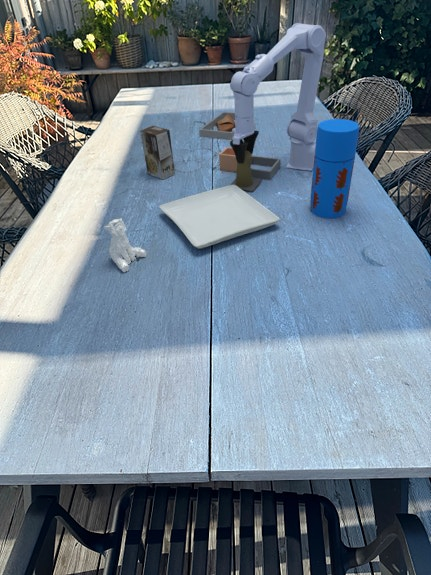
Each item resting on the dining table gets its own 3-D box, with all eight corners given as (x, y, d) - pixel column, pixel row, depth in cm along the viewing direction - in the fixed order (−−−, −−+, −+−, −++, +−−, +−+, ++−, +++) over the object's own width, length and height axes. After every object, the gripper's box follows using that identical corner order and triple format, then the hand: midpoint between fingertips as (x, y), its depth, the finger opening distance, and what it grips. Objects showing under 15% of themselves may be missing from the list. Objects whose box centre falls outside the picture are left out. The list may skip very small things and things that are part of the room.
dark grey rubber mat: (262, 181, 142) (262, 179, 142) (252, 192, 136) (252, 190, 135) (238, 177, 145) (238, 176, 145) (228, 188, 139) (228, 187, 139)
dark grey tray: (253, 120, 192) (253, 114, 190) (232, 139, 174) (231, 132, 172) (223, 118, 197) (222, 111, 195) (199, 136, 180) (198, 129, 178)
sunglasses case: (214, 122, 193) (220, 109, 189) (227, 129, 195) (233, 115, 192) (218, 134, 179) (225, 120, 175) (232, 141, 181) (239, 127, 178)
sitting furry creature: (125, 274, 105) (115, 234, 97) (101, 265, 109) (89, 226, 101) (148, 255, 111) (140, 216, 103) (124, 247, 115) (115, 209, 107)
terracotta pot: (244, 164, 153) (244, 149, 150) (237, 172, 149) (236, 156, 145) (227, 162, 156) (226, 147, 152) (219, 170, 151) (218, 154, 147)
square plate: (196, 258, 109) (195, 246, 107) (159, 215, 128) (157, 204, 126) (281, 228, 118) (281, 217, 116) (234, 192, 137) (233, 182, 135)
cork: (251, 187, 137) (250, 155, 130) (233, 186, 139) (232, 154, 132) (254, 179, 142) (254, 148, 135) (237, 178, 143) (236, 147, 136)
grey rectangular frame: (280, 166, 150) (280, 158, 148) (270, 179, 142) (270, 171, 140) (250, 163, 154) (250, 155, 152) (239, 175, 146) (239, 167, 144)
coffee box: (176, 174, 151) (170, 129, 141) (162, 180, 147) (156, 135, 137) (159, 168, 156) (153, 124, 146) (146, 174, 152) (139, 130, 142)
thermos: (347, 203, 126) (361, 119, 111) (344, 220, 119) (358, 133, 103) (312, 199, 130) (320, 117, 114) (306, 216, 122) (314, 131, 106)
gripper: (241, 107, 132) (242, 148, 141) (222, 122, 122) (225, 165, 131) (261, 109, 130) (261, 151, 138) (244, 124, 120) (245, 168, 128)
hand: (245, 158), depth 135 cm, fingers open, 7 cm apart
